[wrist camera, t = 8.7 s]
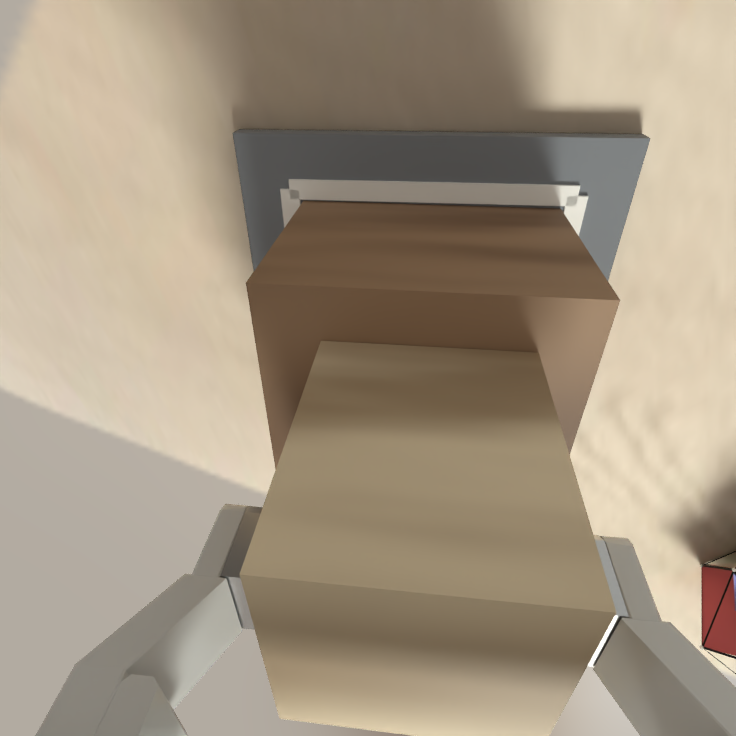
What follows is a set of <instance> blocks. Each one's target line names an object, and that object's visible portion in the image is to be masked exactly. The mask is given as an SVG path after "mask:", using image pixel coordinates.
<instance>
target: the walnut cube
mask: <svg viewBox="0 0 736 736" xmlns="http://www.w3.org/2000/svg"><path fill="white" fill-rule="evenodd" d="M246 286H247V292H248V299H249V305H250V311H251V317H252V324H253V330H254V336H255V343H256V349H257V355H258V361H259V368H260V374H261V380H262V386H263V393H264V399H265V405H266V411H267V418H268V424H269V430H270V437H271V443H272V449H273V455H274V462H275V468H277V465H278V462H279V459H280V457H281V454H282V451H283V448H284V445H285V442H286V439H287V436H288V434H289V431H290V428H291V425H292V422H293V419H294V416H295V413H296V411H297V408H298V405H299V402H300V399H301V396H302V393H303V390H304V388H305V385H306V382H307V379H308V376H309V373H310V370H311V368H312V365H313V362H314V359H315V356H316V353H317V350H318V347H319V345H320V342H321V341H336V342H354V343H372V344H390V345H409V346H427V347H445V348H463V349H482V350H500V351H518V352H537V353H539V355H540V358H541V362H542V365H543V368H544V372H545V375H546V378H547V382H548V385H549V388H550V392H551V395H552V399H553V402H554V405H555V409H556V412H557V415H558V419H559V422H560V425H561V429H562V432H563V435H564V439H565V442H566V445H567V449H568V452H569V455H570V452H571V449H572V446H573V443H574V439H575V436H576V433H577V430H578V427H579V424H580V421H581V418H582V415H583V412H584V409H585V406H586V403H587V400H588V397H589V394H590V391H591V388H592V385H593V382H594V379H595V375H596V372H597V369H598V366H599V363H600V360H601V357H602V354H603V351H604V348H605V345H606V342H607V339H608V336H609V333H610V330H611V327H612V324H613V321H614V318H615V315H616V311H617V308H618V305H619V302H620V299H619V298H618V296H617V295H616V293H615V292H614V290H613V289H612V287H611V286H610V284H609V282H608V281H607V279H606V278H605V276H604V275H603V273H602V272H601V270H600V269H599V267H598V265H597V264H596V262H595V261H594V259H593V258H592V256H591V255H590V253H589V252H588V250H587V248H586V247H585V245H584V244H583V242H582V241H581V239H580V238H579V236H578V235H577V233H576V231H575V230H574V228H573V227H572V225H571V224H570V222H569V221H568V219H567V218H566V216H565V214H564V213H563V211H562V210H561V209H559V208H527V207H494V206H462V205H430V204H398V203H366V202H333V201H303V202H302V204H301V205H300V206H299V208H298V209H297V211H296V212H295V214H294V215H293V216H292V218H291V219H290V221H289V222H288V224H287V225H286V226H285V228H284V229H283V231H282V232H281V234H280V235H279V236H278V238H277V239H276V241H275V242H274V244H273V245H272V246H271V248H270V249H269V251H268V252H267V254H266V255H265V256H264V258H263V259H262V261H261V262H260V264H259V265H258V267H257V268H256V269H255V271H254V272H253V274H252V275H251V277H250V278H249V279H248V281H247V282H246Z"/></svg>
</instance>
